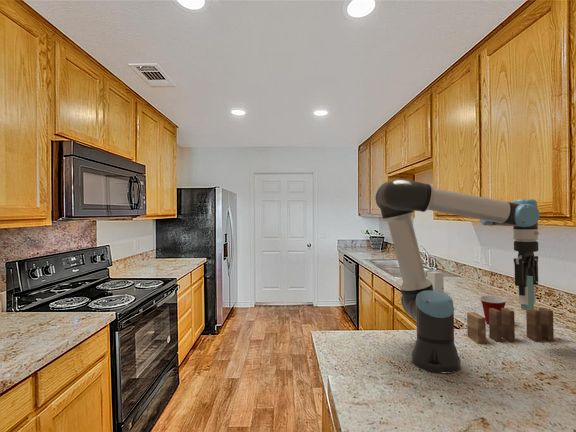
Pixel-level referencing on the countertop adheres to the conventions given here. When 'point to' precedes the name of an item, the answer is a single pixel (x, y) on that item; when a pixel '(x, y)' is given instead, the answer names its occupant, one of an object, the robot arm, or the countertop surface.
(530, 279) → the domino
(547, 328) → the domino
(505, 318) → the domino
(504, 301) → the plastic cup
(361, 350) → the countertop surface
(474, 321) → the block
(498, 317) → the domino
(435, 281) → the skincare box
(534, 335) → the domino
